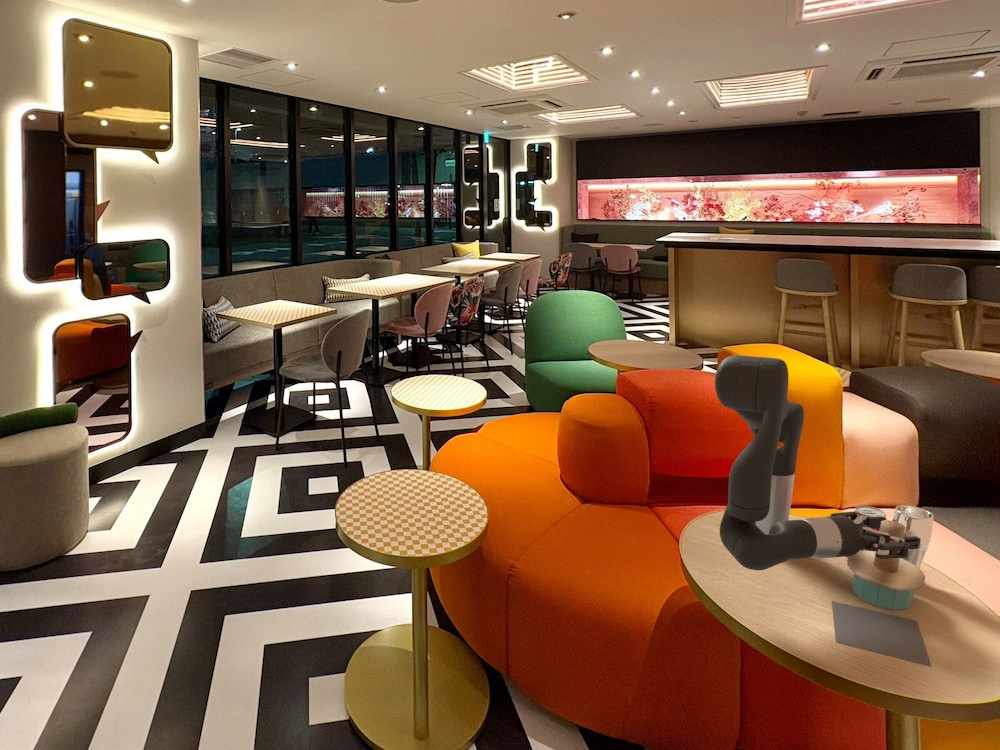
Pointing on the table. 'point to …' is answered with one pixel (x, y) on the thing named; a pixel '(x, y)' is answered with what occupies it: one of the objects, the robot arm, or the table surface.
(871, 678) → the table surface
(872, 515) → the soda can
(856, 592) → the bowl
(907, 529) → the beer glass
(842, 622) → the mat
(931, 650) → the table surface
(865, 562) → the lid
